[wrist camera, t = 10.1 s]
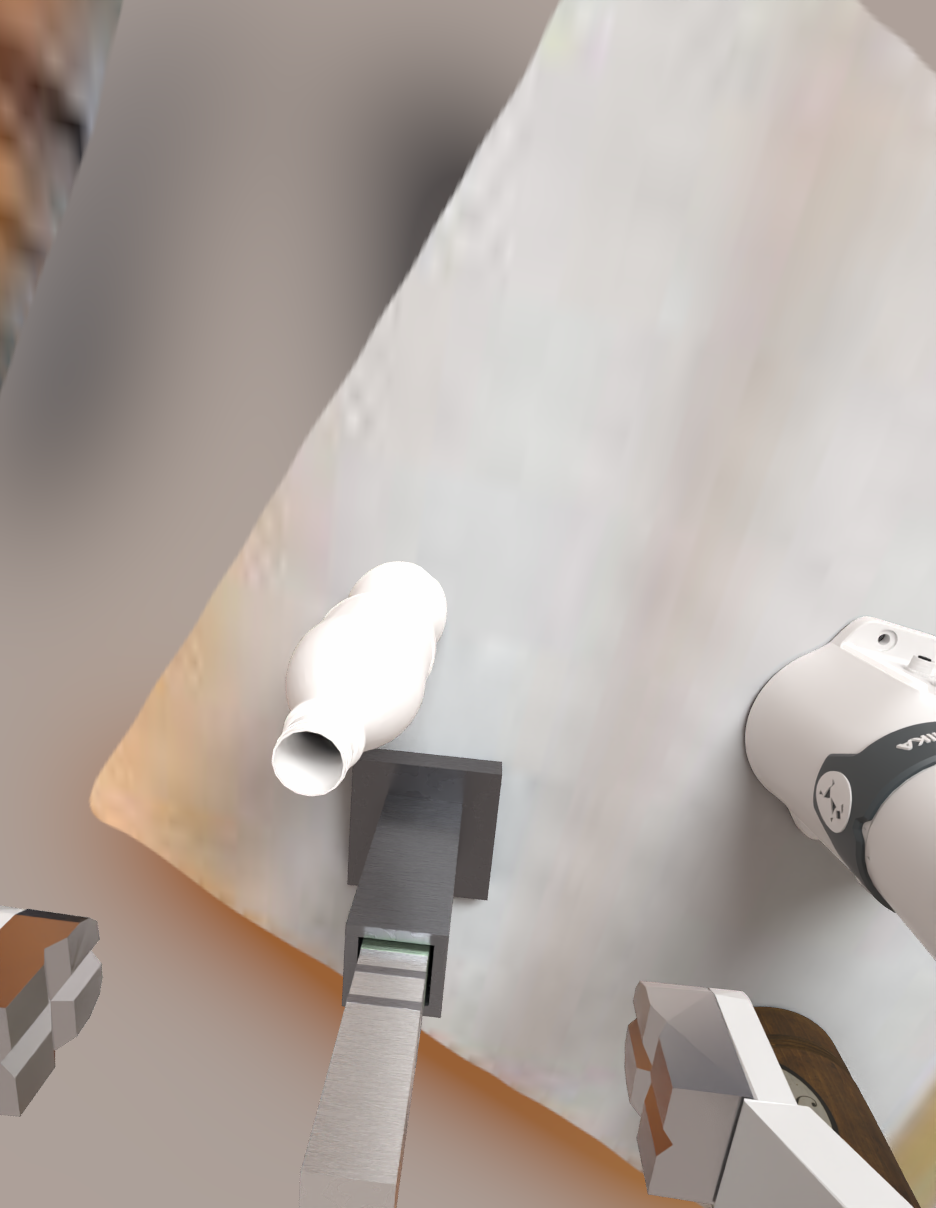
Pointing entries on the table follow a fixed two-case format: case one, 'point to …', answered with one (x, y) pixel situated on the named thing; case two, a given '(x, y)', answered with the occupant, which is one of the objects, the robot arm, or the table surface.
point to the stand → (417, 851)
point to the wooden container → (829, 1090)
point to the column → (369, 1083)
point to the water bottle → (359, 676)
